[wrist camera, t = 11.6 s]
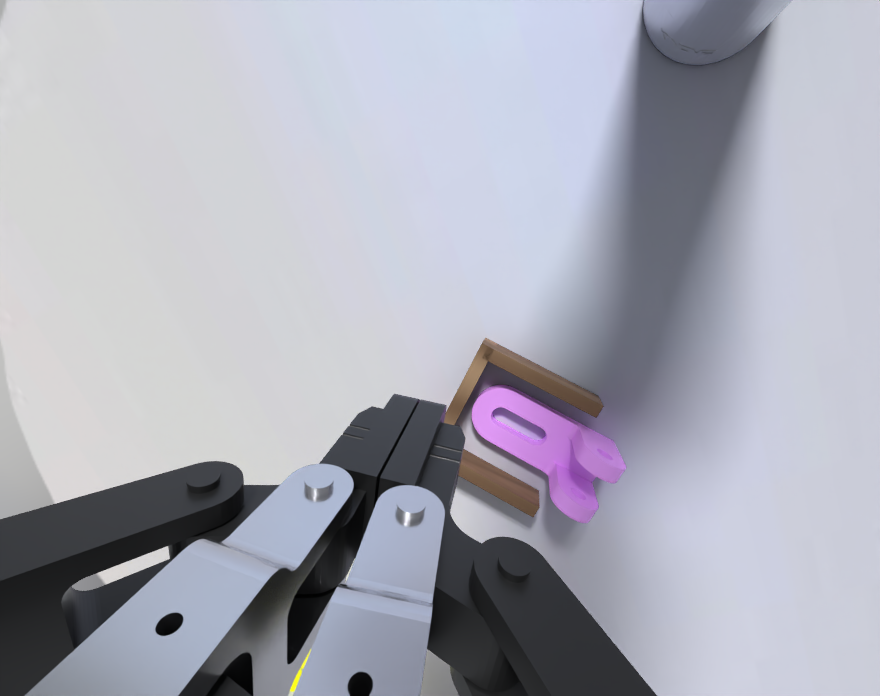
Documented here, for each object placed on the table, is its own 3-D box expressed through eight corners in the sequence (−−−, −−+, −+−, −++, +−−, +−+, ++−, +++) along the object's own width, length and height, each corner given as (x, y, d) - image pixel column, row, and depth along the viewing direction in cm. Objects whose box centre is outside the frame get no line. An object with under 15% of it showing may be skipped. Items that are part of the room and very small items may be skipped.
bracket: (613, 440, 38) (630, 476, 31) (582, 486, 40) (592, 530, 33) (489, 374, 40) (481, 395, 33) (464, 421, 41) (451, 450, 34)
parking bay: (485, 337, 39) (482, 343, 36) (598, 395, 38) (603, 406, 35) (430, 443, 42) (423, 455, 39) (532, 500, 41) (533, 517, 38)
